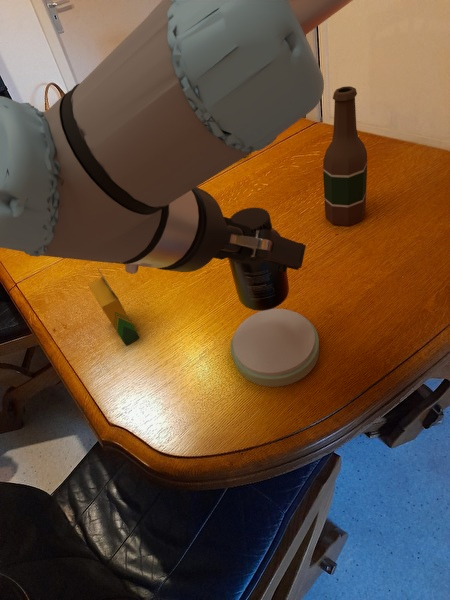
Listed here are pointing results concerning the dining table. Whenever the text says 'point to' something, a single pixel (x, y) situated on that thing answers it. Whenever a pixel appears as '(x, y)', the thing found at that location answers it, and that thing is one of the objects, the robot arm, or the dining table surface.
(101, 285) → the crayon box
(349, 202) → the beer bottle
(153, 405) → the dining table surface
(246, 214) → the supplement bottle
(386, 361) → the dining table surface
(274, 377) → the scale
